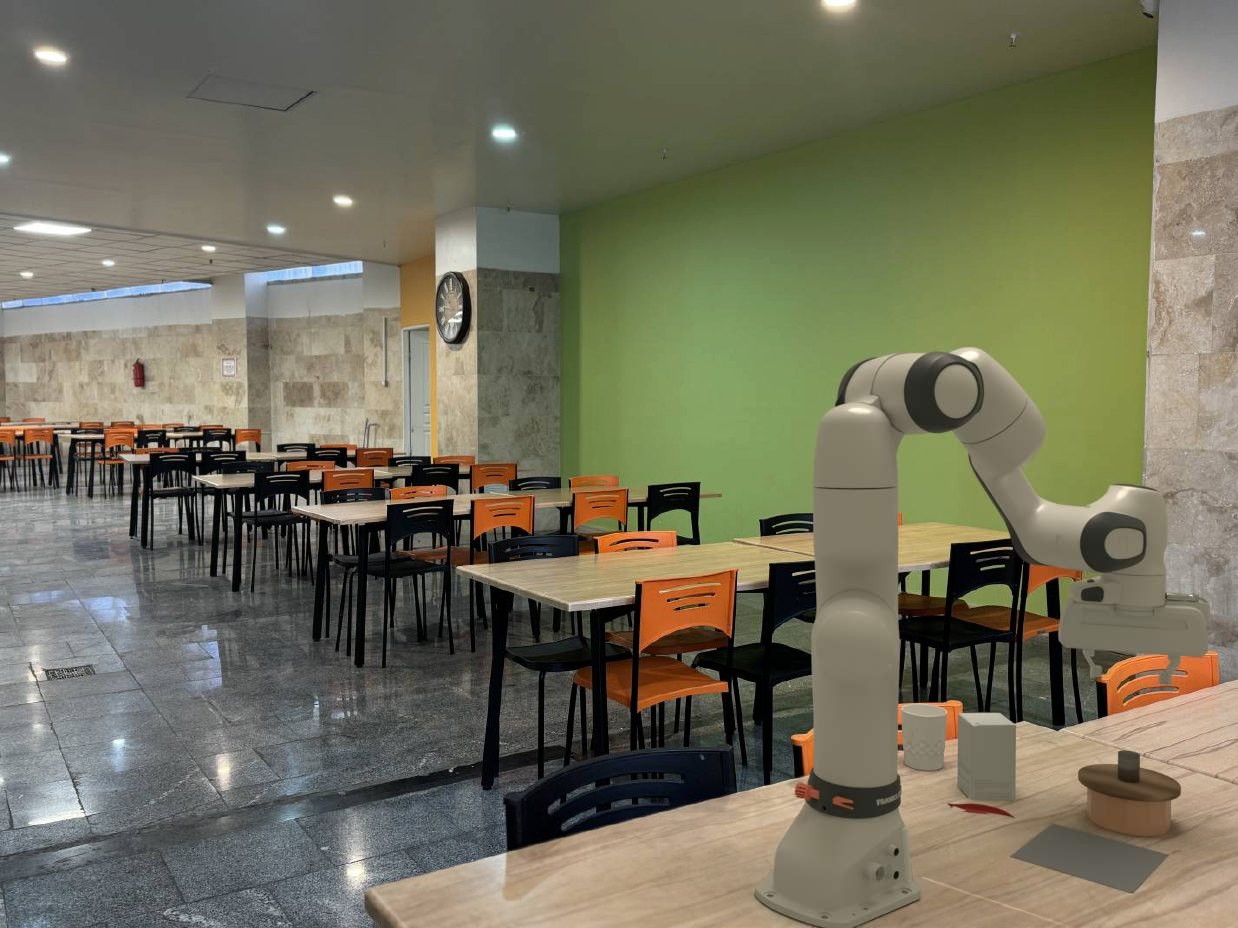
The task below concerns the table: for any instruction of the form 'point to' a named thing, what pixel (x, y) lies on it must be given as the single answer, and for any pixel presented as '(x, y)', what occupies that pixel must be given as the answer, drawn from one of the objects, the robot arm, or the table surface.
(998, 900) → the table surface
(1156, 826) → the bowl
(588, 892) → the table surface
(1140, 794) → the lid
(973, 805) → the red feather
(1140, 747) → the table surface
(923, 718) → the white cup
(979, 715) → the supplement box
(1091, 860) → the mat
